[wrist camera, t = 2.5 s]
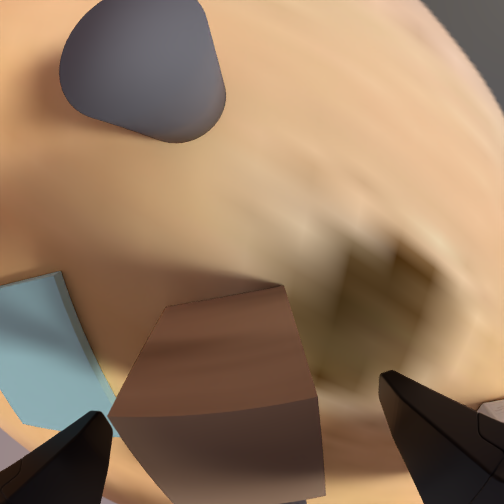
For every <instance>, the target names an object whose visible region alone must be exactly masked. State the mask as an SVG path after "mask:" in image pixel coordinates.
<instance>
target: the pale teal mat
mask: <svg viewBox="0 0 504 504" xmlns="http://www.w3.org/2000/svg"><path fill="white" fill-rule="evenodd" d="M0 390H1V391H2V393H3V395H4V396H5V398H6V399H7V401H8V402H9V404H10V406H11V407H12V409H13V410H14V412H15V413H16V414H17V416H18V417H19V419H20V420H21V422H22V423H23V424H26V425H31V426H36V427H41V428H47V429H52V430H58V431H62V430H64V429H65V428H66V427H68V426H69V425H71V424H72V423H74V422H75V421H76V420H78V419H79V418H81V417H82V416H83V415H85V414H86V413H88V412H89V411H92V410H95V411H101V412H102V413H103V414H104V415H105V417H106V419H107V420H108V422H109V423H110V425H111V426H112V429H113V437H120V435H119V434H118V432H117V431H116V429H115V428H114V426H113V425H112V423H111V422H110V420H109V419H108V417H107V415H108V413H109V411H110V409H111V407H112V405H113V403H114V401H115V400H116V397H115V395H114V393H113V391H112V389H111V388H110V386H109V384H108V382H107V380H106V378H105V376H104V374H103V372H102V370H101V368H100V366H99V364H98V362H97V360H96V358H95V356H94V354H93V352H92V349H91V347H90V345H89V343H88V341H87V338H86V336H85V334H84V331H83V329H82V327H81V324H80V322H79V319H78V317H77V314H76V312H75V309H74V307H73V304H72V301H71V299H70V296H69V293H68V290H67V287H66V285H65V282H64V279H63V276H62V273H61V271H58V272H54V273H50V274H46V275H42V276H38V277H34V278H30V279H26V280H22V281H18V282H14V283H10V284H6V285H2V286H0Z"/></svg>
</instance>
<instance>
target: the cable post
mask: <svg viewBox="0 0 504 504" xmlns="http://www.w3.org/2000/svg"><path fill="white" fill-rule="evenodd" d="M59 76H60V84H61V87H62V91H63V93H64V95H65V97H66V99H67V100H68V102H69V103H70V104H71V105H72V106H73V107H74V108H75V109H76V110H77V111H79V112H80V113H82V114H84V115H86V116H88V117H91V118H94V119H98V120H101V121H104V122H107V123H110V124H114V125H117V126H120V127H123V128H126V129H129V130H132V131H135V132H138V133H141V134H144V135H146V136H149V137H152V138H155V139H158V140H161V141H164V142H168V143H183V142H188V141H191V140H194V139H196V138H199V137H200V136H202V135H204V134H205V133H206V132H208V131H209V130H210V129H211V128H212V127H213V126H214V125H215V124H216V123H217V121H218V120H219V118H220V116H221V114H222V112H223V110H224V106H225V101H226V90H225V85H224V82H223V78H222V74H221V70H220V66H219V62H218V59H217V55H216V51H215V47H214V44H213V40H212V36H211V32H210V29H209V25H208V21H207V18H206V15H205V12H204V10H203V8H202V6H201V5H200V4H199V2H198V1H197V0H102V1H101V2H99V3H98V4H97V5H95V6H94V7H93V8H92V9H91V10H89V11H88V12H87V13H86V14H85V15H84V16H83V17H82V19H81V20H80V21H79V22H78V24H77V25H76V26H75V28H74V29H73V31H72V32H71V34H70V36H69V38H68V39H67V41H66V44H65V46H64V49H63V52H62V56H61V60H60V68H59Z"/></svg>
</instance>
